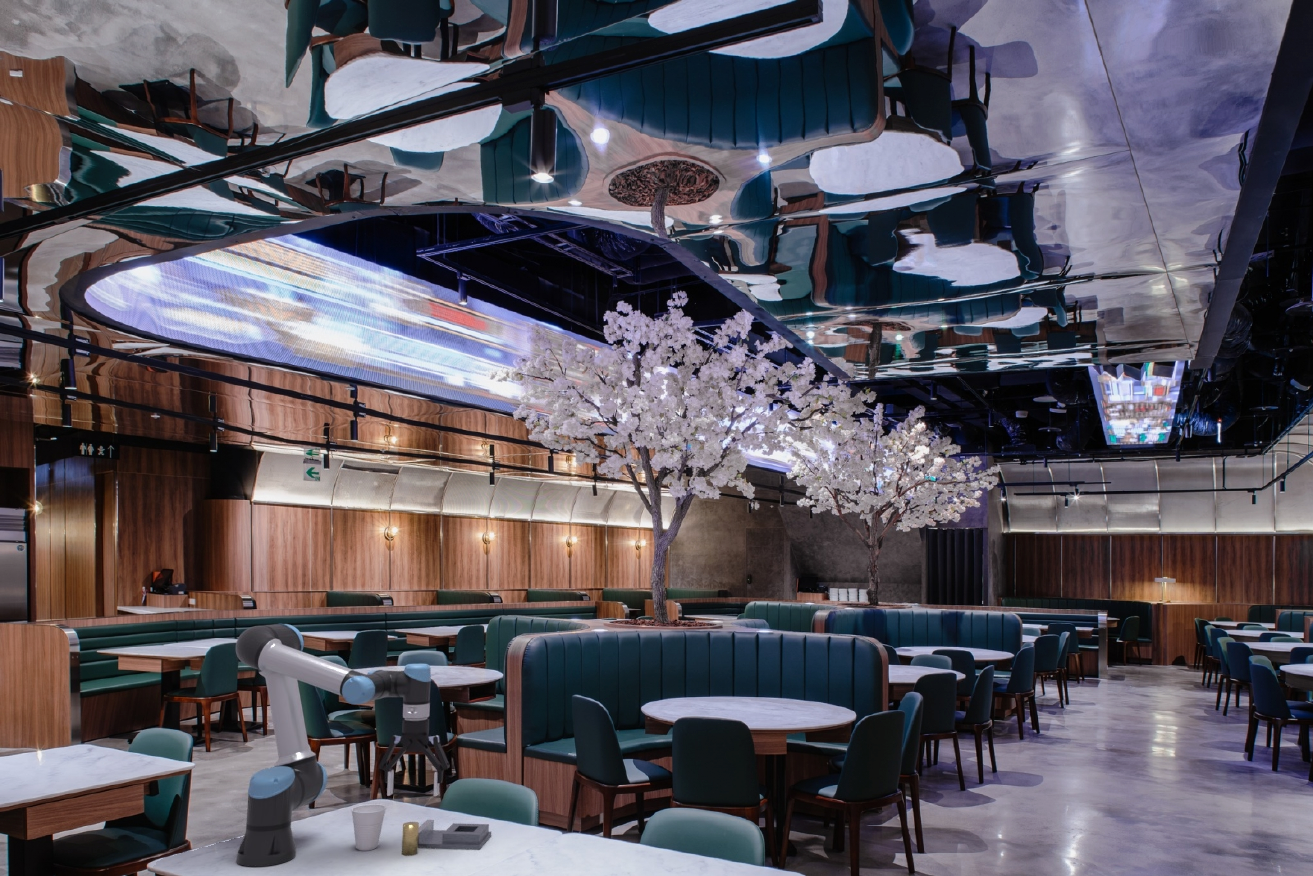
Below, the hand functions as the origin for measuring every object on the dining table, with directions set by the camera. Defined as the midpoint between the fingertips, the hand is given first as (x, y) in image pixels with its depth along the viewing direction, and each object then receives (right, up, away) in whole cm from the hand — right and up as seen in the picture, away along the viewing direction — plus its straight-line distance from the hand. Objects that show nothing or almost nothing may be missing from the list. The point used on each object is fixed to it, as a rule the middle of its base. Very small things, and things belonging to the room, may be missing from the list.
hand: (413, 795), depth 257 cm
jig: (+8, -18, +9) cm, 21 cm away
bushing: (0, -16, -2) cm, 16 cm away
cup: (-14, -17, +2) cm, 22 cm away
